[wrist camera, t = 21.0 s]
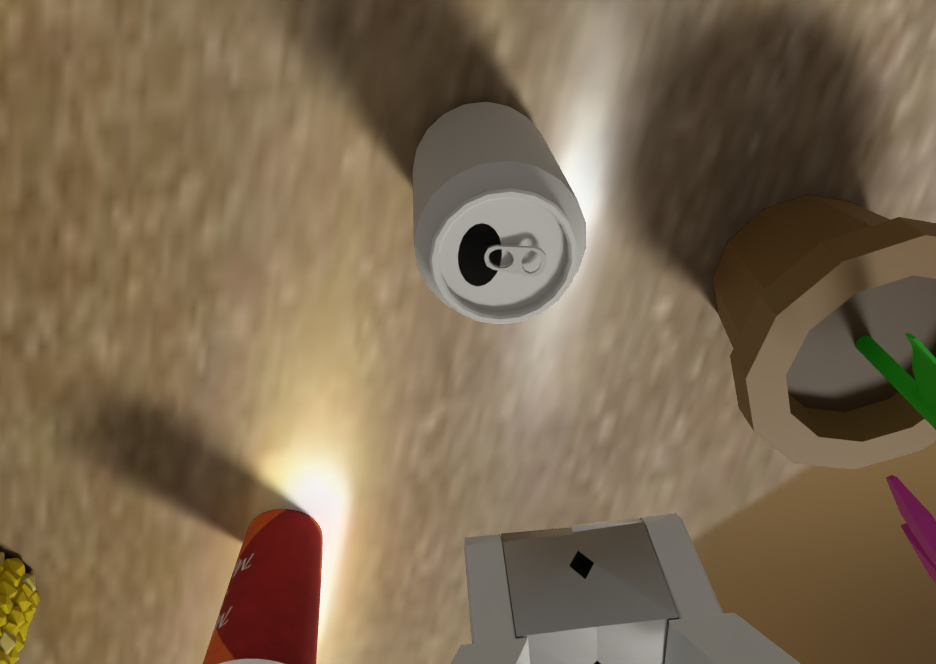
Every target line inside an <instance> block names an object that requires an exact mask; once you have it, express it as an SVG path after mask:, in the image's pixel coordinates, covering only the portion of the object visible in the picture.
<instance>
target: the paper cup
mask: <svg viewBox="0 0 936 664" xmlns="http://www.w3.org/2000/svg"><path fill="white" fill-rule="evenodd" d="M321 568H322V531H321V528H320V526H319V525H318V523H317V522H316V521H315V520H314V519H313V518H311V517H310V516H308V515H306V514H304V513H302V512H299V511H295V510H288V509H278V510H272V511H268V512H265V513H263V514H261V515H259V516H258V517H257V518H255V519H254V520H253V522H252V523H251V525H250V526H249V529H248V531H247V533H246V536H245V539H244V542H243V544H242V547H241V550H240V553H239V556H238V559H237V562H236V565H235V568H234V571H233V574H232V577H231V580H230V583H229V586H228V589H227V592H226V595H225V598H224V601H223V604H222V607H221V610H220V613H219V616H218V619H217V622H216V625H215V628H214V631H213V634H212V637H211V640H210V643H209V647H208V650H207V653H206V656H205V659H204V662H203V664H316V655H317V638H318V621H319V604H320V587H321Z"/></svg>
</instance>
